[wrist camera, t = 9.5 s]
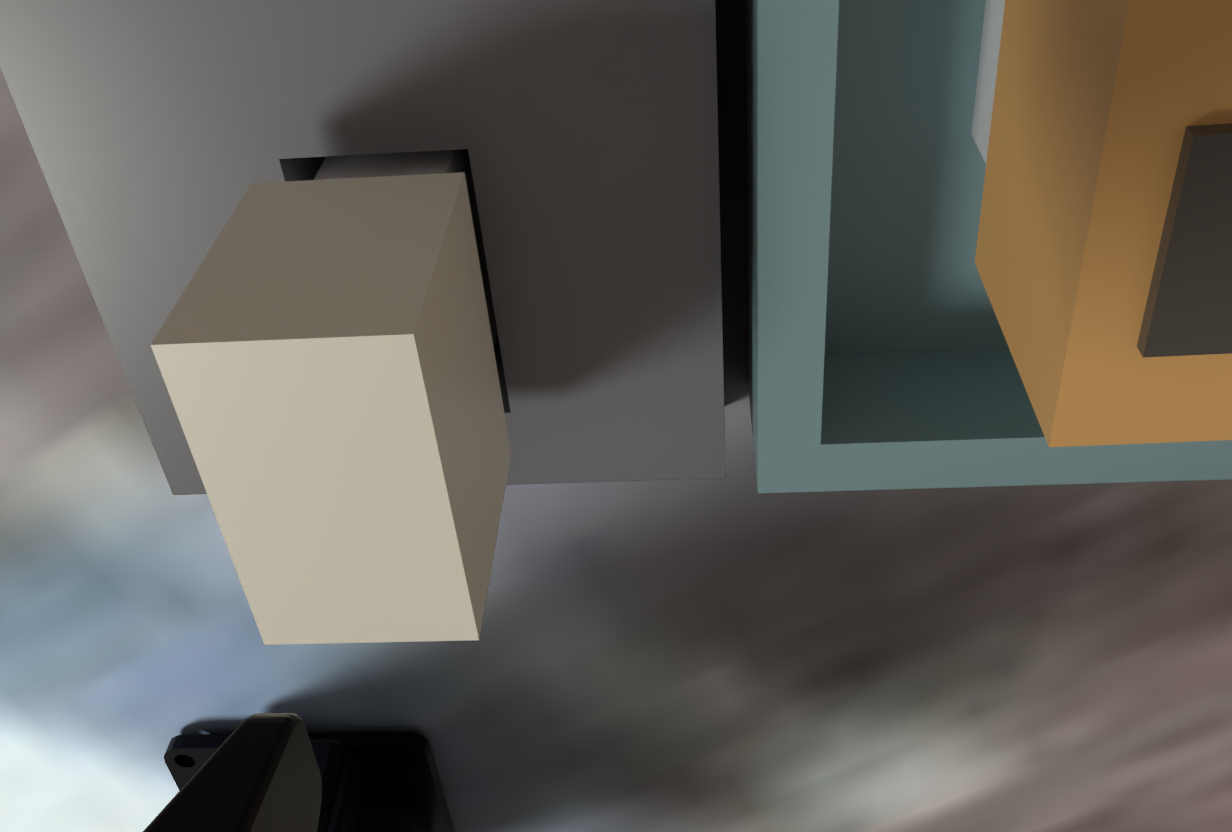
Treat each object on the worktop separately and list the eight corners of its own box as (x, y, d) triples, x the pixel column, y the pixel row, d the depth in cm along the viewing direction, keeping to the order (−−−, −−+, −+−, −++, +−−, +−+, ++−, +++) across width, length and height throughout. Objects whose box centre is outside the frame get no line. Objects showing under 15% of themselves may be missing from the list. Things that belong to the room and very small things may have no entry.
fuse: (528, 349, 21) (479, 640, 16) (368, 356, 22) (264, 644, 16) (490, 87, 18) (413, 334, 13) (305, 98, 19) (150, 344, 13)
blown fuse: (1132, 154, 18) (1343, 447, 12) (935, 165, 18) (1053, 459, 13) (1203, -205, 15) (1523, -34, 9) (967, -185, 15) (1140, -7, 10)
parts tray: (1250, 368, 21) (1323, 476, 19) (748, 386, 22) (757, 493, 19) (1584, -697, 13) (1795, -743, 10) (742, -611, 13) (758, -639, 11)
